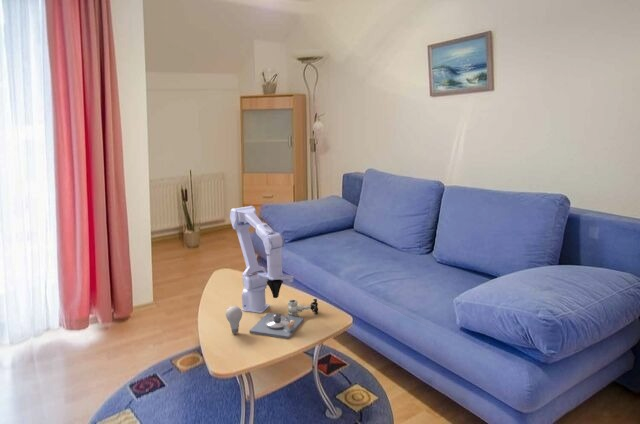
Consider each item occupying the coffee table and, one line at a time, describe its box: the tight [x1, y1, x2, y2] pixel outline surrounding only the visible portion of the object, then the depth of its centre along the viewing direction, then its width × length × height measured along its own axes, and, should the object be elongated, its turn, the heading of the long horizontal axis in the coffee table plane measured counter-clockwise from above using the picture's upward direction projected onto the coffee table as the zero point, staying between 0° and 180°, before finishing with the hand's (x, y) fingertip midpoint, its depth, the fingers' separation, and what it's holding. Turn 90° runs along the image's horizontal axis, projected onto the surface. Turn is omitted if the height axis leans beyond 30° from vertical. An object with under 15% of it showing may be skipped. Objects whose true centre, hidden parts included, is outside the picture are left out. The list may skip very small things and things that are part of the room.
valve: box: [287, 298, 319, 317], centre depth 186 cm, size 7×7×12 cm
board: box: [249, 313, 305, 340], centre depth 176 cm, size 16×16×4 cm
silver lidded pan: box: [266, 312, 294, 332], centre depth 174 cm, size 14×9×4 cm, turn 43°
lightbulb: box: [225, 305, 243, 335], centre depth 170 cm, size 6×6×11 cm
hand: (275, 297), depth 179 cm, fingers closed
